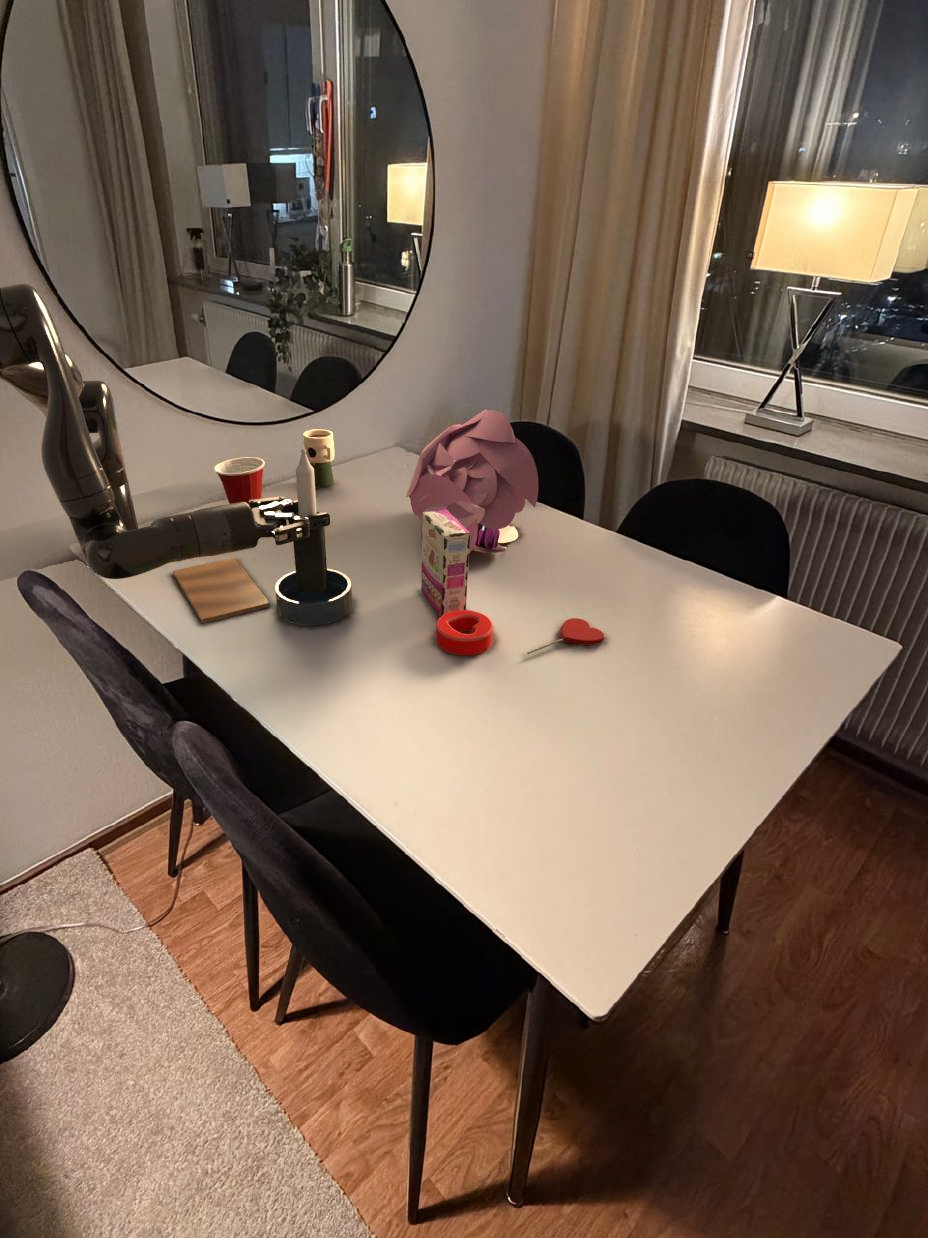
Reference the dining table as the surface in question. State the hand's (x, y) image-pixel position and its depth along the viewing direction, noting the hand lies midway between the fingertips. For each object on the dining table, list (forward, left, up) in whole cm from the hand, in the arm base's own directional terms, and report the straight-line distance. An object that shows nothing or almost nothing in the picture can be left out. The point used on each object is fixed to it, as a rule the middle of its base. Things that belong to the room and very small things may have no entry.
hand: (321, 511), depth 124 cm
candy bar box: (+10, +19, -18) cm, 28 cm away
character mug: (-54, +22, -18) cm, 61 cm away
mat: (-14, -15, -18) cm, 28 cm away
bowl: (0, -2, -18) cm, 18 cm away
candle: (0, -3, -14) cm, 14 cm away
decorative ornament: (+22, +16, -18) cm, 33 cm away
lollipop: (+31, +30, -18) cm, 47 cm away
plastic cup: (-45, 0, -18) cm, 48 cm away
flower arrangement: (-13, +40, -18) cm, 45 cm away
